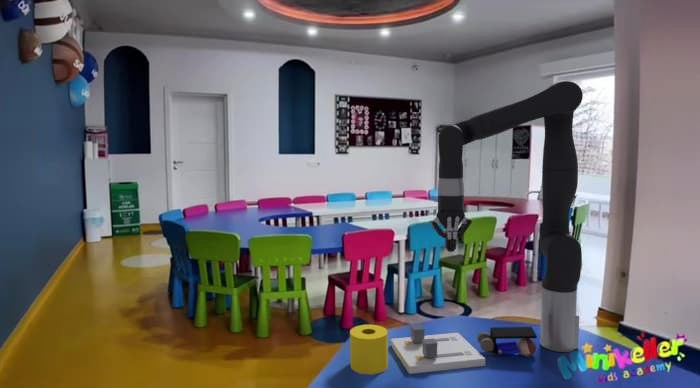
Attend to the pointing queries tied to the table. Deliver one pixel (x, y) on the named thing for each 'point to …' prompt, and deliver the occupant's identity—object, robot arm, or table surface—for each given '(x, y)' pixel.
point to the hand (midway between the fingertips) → (450, 251)
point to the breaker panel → (449, 354)
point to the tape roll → (369, 349)
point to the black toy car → (522, 347)
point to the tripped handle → (417, 333)
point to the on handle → (429, 348)
